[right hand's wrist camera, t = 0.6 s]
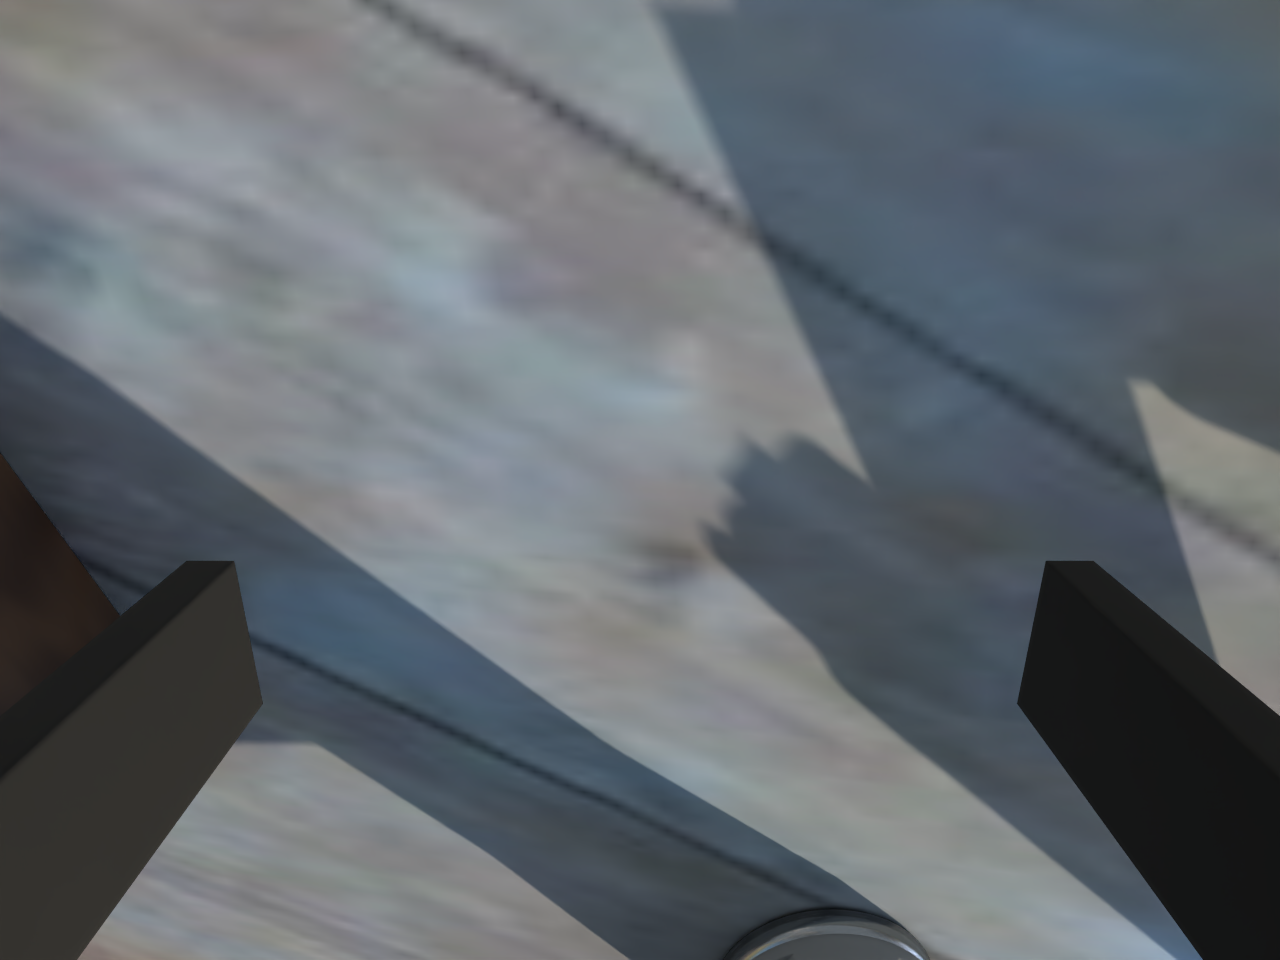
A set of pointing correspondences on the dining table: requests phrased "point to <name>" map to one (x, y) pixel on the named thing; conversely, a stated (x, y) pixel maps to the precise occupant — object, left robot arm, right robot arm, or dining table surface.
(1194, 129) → the dining table surface
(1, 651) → the walnut beam
